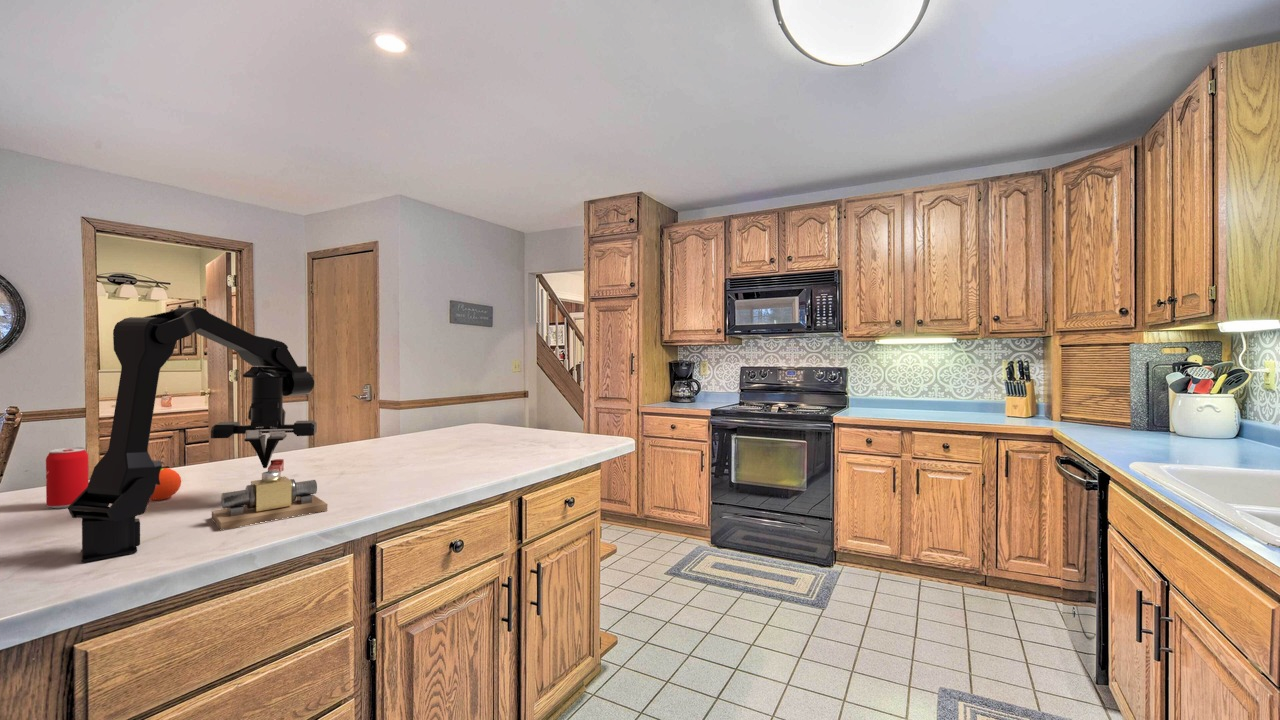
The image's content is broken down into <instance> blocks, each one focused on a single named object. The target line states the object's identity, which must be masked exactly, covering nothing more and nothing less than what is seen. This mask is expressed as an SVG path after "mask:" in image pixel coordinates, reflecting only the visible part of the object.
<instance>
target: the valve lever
mask: <svg viewBox="0 0 1280 720" xmlns="http://www.w3.org/2000/svg"><path fill="white" fill-rule="evenodd" d="M284 463H285V462H284V459H283V458H279V459H278V458H277V459H275V458H274V459H272V460H271V459H270V463H269V465H268V466H267V471H264V472H262V473H261V480H262V481H275V480H279V479H281V477H282V476H281V475H282V474H281V473H282V472H283V471H284V470H285V469H284V465H285V464H284Z"/></svg>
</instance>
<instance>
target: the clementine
mask: <svg viewBox="0 0 1280 720" xmlns="http://www.w3.org/2000/svg"><path fill="white" fill-rule="evenodd" d="M159 481H160V485H156V488H155V491H154V493H153V495H152V496H150V499H151V500H155V501H159V500H160V499H161V500H166V499H167V498H170V497H172V496H174V495H175V494H176V493H177V492H178V491H179V490H180V488H181V485H182V478H181V475H180V474H179V472H177V471H176V470H174V469H172V468H169V467H167V468H166V467H164V468H163V467H161V470H160V473H159ZM165 498H166V499H165ZM150 499H149V500H150Z"/></svg>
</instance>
